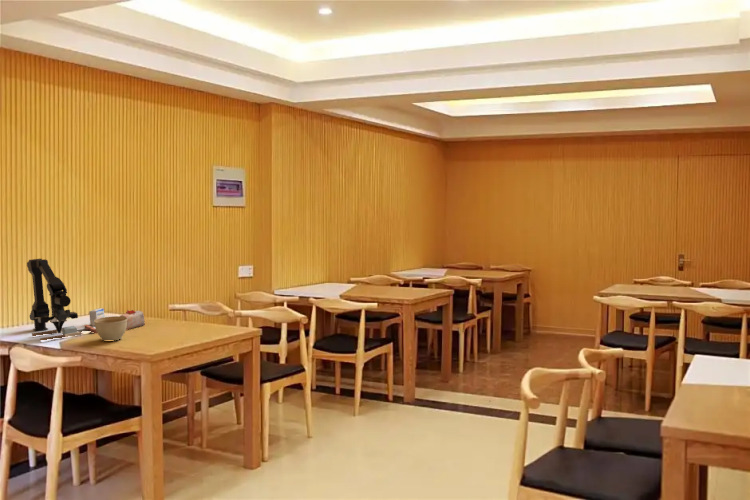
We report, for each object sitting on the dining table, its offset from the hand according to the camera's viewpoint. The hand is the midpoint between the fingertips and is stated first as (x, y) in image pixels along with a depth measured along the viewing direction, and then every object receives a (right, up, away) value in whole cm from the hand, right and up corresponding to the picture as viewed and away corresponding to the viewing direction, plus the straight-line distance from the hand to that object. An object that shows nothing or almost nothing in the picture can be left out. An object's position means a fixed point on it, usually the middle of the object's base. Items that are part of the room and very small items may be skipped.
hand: (59, 333), depth 374 cm
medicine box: (+10, +2, +26) cm, 28 cm away
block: (+4, -1, +3) cm, 5 cm away
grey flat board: (+2, -1, +2) cm, 3 cm away
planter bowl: (+33, -2, -12) cm, 35 cm away
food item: (+33, +1, +16) cm, 37 cm away
